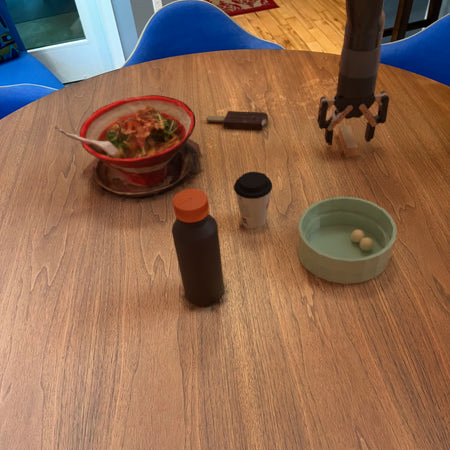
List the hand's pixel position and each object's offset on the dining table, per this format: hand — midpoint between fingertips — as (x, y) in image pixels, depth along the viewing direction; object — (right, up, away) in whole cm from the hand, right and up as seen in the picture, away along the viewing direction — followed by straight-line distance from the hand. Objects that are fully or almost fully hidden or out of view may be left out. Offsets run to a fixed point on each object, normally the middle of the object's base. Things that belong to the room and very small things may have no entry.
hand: (348, 141), depth 106 cm
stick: (0, -1, +1) cm, 1 cm away
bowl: (-6, -26, -20) cm, 34 cm away
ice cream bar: (-25, +8, +11) cm, 28 cm away
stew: (-46, -8, -1) cm, 46 cm away
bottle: (-31, -34, -24) cm, 52 cm away
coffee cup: (-22, -20, -13) cm, 33 cm away
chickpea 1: (-5, -23, -20) cm, 31 cm away
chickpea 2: (-2, -24, -21) cm, 32 cm away
